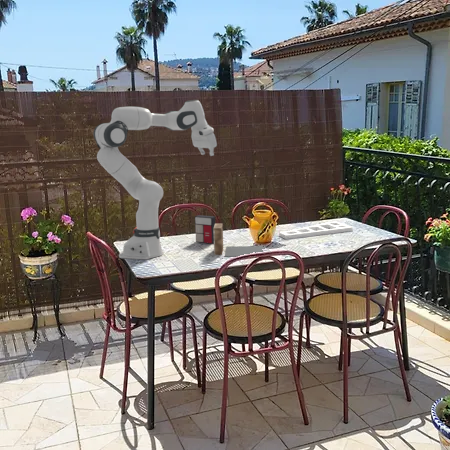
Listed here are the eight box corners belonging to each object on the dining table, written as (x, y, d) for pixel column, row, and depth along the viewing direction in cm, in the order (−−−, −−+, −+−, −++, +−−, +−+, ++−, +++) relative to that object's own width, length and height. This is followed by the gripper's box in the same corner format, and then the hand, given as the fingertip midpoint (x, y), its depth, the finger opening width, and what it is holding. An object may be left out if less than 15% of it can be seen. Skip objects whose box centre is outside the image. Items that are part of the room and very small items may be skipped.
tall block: (214, 254, 242) (213, 228, 239) (215, 248, 252) (215, 223, 249) (222, 254, 241) (221, 228, 238) (223, 248, 252) (222, 223, 249)
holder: (286, 240, 269) (286, 235, 268) (272, 233, 285) (272, 228, 284) (352, 231, 284) (352, 227, 283) (335, 225, 300) (335, 221, 300)
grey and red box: (195, 242, 267) (194, 216, 263) (199, 240, 270) (198, 215, 267) (212, 244, 262) (211, 217, 258) (215, 242, 265) (214, 216, 262)
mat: (224, 256, 238) (224, 256, 238) (226, 247, 255) (226, 246, 255) (266, 256, 237) (266, 255, 237) (265, 246, 254) (265, 246, 254)
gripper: (186, 131, 256) (193, 155, 261) (204, 132, 239) (212, 158, 244) (196, 128, 259) (203, 151, 264) (215, 128, 242) (222, 154, 247)
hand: (207, 155), depth 254 cm, fingers open, 8 cm apart
